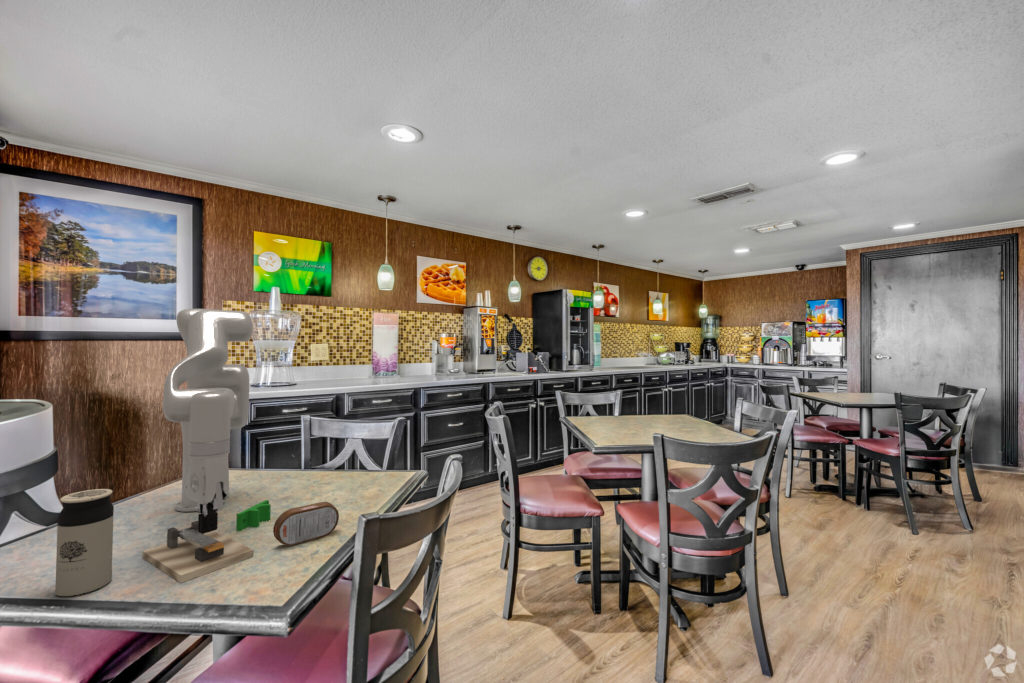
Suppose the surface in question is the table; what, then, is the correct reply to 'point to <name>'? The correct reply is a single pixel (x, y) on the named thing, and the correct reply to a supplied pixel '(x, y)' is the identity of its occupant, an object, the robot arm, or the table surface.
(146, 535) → the table surface
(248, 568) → the table surface
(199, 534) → the hinged lever
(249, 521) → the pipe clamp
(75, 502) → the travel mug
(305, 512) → the tin
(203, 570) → the base plate
